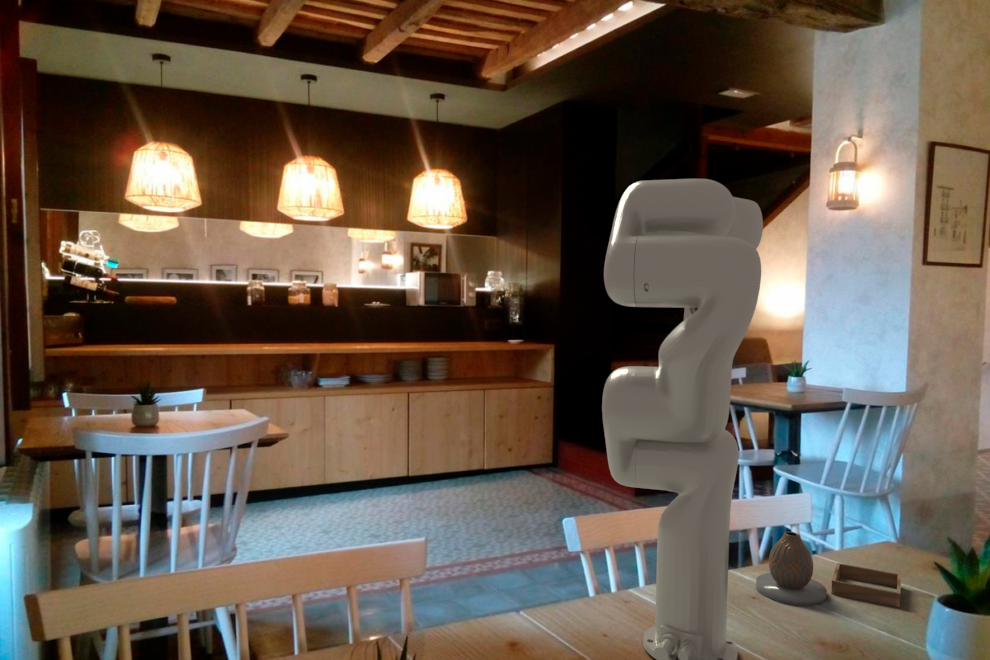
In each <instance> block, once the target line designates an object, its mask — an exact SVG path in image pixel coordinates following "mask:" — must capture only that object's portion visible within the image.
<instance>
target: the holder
mask: <svg viewBox="0 0 990 660" xmlns="http://www.w3.org/2000/svg"><path fill="white" fill-rule="evenodd" d="M840 578H847V579H851V580H858V581H862V582H868V583H872V584H878V585H884V586H888V585H889V586H888V587H893V586H896V587H895V588H896V591H892V590H886V589H882V588H876V587H871V586H867V585H866V586H865V585H861V584H856V583H851V582H845V581H840ZM901 581H902V574H901V573H895V572H891V571H884V570H880V569H873V568H867V567H862V566H857V565H856V566H855V565H851V564H846V563H840V562H837V563H836V565H835V568H834V571H833V575H832V579H831V591H830V592H831V595H836V596H842V597H847V598H851V599H856V600H860V601H861V600H862V601H866V602H872V603H875V604H881V605H887V606H891V607H896V608H901V587H902V582H901Z"/></svg>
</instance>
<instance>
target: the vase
mask: <svg viewBox="0 0 990 660" xmlns="http://www.w3.org/2000/svg"><path fill="white" fill-rule="evenodd" d="M768 567H769V573H771V575H772V577H773V579H774V580H775V581H776V583H777V584H778V585H780V586H782V587H784V588H788V589H802V588H803V587H805V586H806V585H807V584H808V583H809V582H810V580H811V579H812V578H813V574H814V559H813V556H812V553H811V551H810V549H809V548H808V547H807V545H806V544H805V543H804V542H803V539H802V538H801V536H800V533H798V532H794V531H784V533H783V534H782V536H781V537H780V539H779V540H778V541H777V542H776V543H775V544H774V545H773V546H772V548H771V550H770V553H769V558H768Z"/></svg>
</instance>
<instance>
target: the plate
mask: <svg viewBox="0 0 990 660" xmlns="http://www.w3.org/2000/svg"><path fill="white" fill-rule="evenodd" d="M755 589H756V591H757V592H758V593H759V594H761V595H762V596H764V597H766V598H768V599H771V600H773V601H777V602H778V603H779V602H780V603H784V604H788V605H795V606H803V607H804V606H810V607H811V606H817V605H821V604H823V603H825V602H826V601H827V596H828V595H827V594H828V593H827V592H828V591H827V588H826V586H825V585H823V584H822V583H820V582H819V581H817V580H815V579H812V578H811V580H810V582H809V583H808V584H807V585H806V586H805V587H803V588H802V589H788V588H784V587H782V586H780V585H778V584H777V583H776V581H775V580H774V579H773V577H772V575H771V573H770V572H766V573H761V574H759V575H758V576H757V577H756V579H755Z"/></svg>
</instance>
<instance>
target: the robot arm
mask: <svg viewBox="0 0 990 660" xmlns="http://www.w3.org/2000/svg"><path fill="white" fill-rule="evenodd" d="M619 199H620V200H619V201H618V204H617V207H616V210H615V214H614V218H613V221H612V227H611V231H610V235H609V241H608V245H607V249H606V254H605V260H604V266H603V282H604V287H605V291H606V293H607V296H608V297H609V298H610V299H611V300H612V301H613V302H614V303H615V304H618V305H621V306H624V307H630V308H631V307H633V308H677V309H678V308H683V309H684V310H683V311H684V313H683V320H682V321H681V322H680V323H679V324H678V325H677V326H676V327H674V329H672V330H671V332H670V333H669V334H668V335H667V336H666V337H665V338H664V340H663V341H662V343H661V344H660V346H659V350H658V366H646V365H645V366H642V365H641V366H639V365H635V366H634V365H632V366H631V365H630V366H629V365H628V366H622V367H618V368H617V369H615V370H613V371H612V372H611V373H610V374H609V376H608V377H607V379H606V380H605V383H604V387H603V392H602V403H601V412H602V424H603V432H604V439H605V441H604V442H605V448H606V457H607V463H608V469H609V471H610V476H611V477H612V478H613V480H614V481H615V482H616V483H618V484H619V485H622V486H624V487H630V488H637V489H639V488H640V489H645V490H646V489H649V490H658V491H659V490H660V491H668V492H673V493H677V494H678V495H677V496H676V497H675V498H674V499H672V501H671V502H670V503H669V504H668V505H667V506H666V507H665V509H664V510H663V511H662V513H661V514H660V517H659V520H658V523H657V538H656V539H657V542H656V575H655V576H656V579H655V585H656V586H655V618H654V620H655V621H654V622H655V623H654V625H652V626H650V627H649V628H647V629H646V631H645V632H644V633H643V641H642V643H643V648H644V649H645V651H646V652H647V654H648V655H650V656H651V657H652V658H654V659H655V660H738V653H739V650H738V645H737V644H736V643H735V642H734V641H733V640H732V638H730V637H729V636H728V635H727V623H728V622H727V619H728V618H727V617H728V614H727V613H728V589H729V588H728V586H729V585H728V584H729V554H730V553H729V551H730V544H729V543H730V525H731V512H732V510H731V507H732V500H733V494H734V493H733V492H734V487H735V482H736V476H737V473H738V472H737V471H738V466H739V456H740V455H739V447H738V446H739V445H738V442H737V440H736V439H735V437H734V435H733V434H732V433H731V432H730V431H729V430H726V426H727V425H728V420H729V415H730V408H731V407H730V406H731V391H732V375H733V374H732V372H733V362H734V361H733V360H734V357H735V355H736V353H737V351H738V349H739V347H740V346H741V344H742V341H743V340H744V338H745V336H746V334H747V332H748V329H749V327H750V325H751V322H752V319H753V317H754V314H755V311H756V308H757V305H758V301H759V300H758V299H759V295H760V289H761V281H762V280H761V279H762V262H761V256H760V254H759V252H758V250H757V248H758V247H759V246H760V244H761V240H762V237H763V232H764V231H763V230H764V229H763V228H764V220H763V214H762V211H761V208H760V206H759V203H757V202H756V201H754V200H751V199H746V198H742V197H741V198H740V197H736V196H733V195H732V193H731V192H730V190H729V189H728V188H727V187H726V186H725V185H723V184H722V183H720V182H718V181H716V180H712V179H708V178H677V179H676V178H675V179H671V178H670V179H652V180H651V179H650V180H645V179H644V180H639V181H636V182H633V183H632V184H630V185H629V186H628V187H627V188H626V189H625V190H624V192H623V193H622V195H621V197H620V198H619Z"/></svg>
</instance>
